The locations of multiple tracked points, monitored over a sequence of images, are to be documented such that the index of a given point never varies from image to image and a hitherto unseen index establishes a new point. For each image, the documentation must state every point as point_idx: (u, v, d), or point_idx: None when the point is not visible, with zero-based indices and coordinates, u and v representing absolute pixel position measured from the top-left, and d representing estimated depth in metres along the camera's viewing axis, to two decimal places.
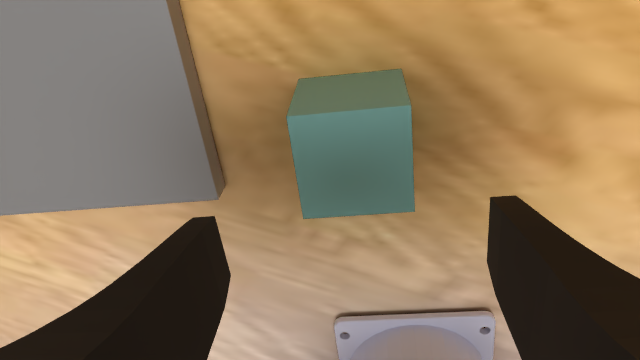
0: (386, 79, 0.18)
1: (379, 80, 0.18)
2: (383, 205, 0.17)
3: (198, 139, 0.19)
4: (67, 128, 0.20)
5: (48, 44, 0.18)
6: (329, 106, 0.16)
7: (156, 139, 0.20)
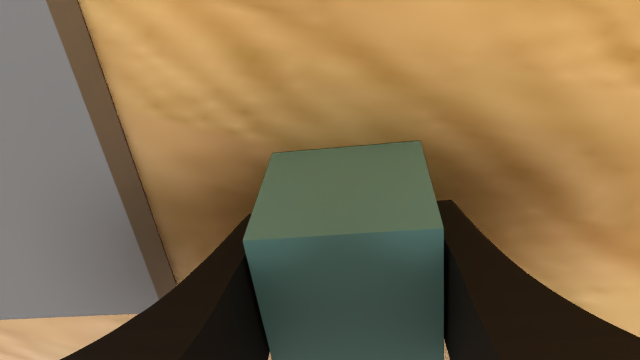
0: (400, 163, 0.12)
1: (389, 165, 0.12)
2: None
3: (130, 237, 0.14)
4: None
5: None
6: (311, 220, 0.10)
7: (70, 237, 0.14)
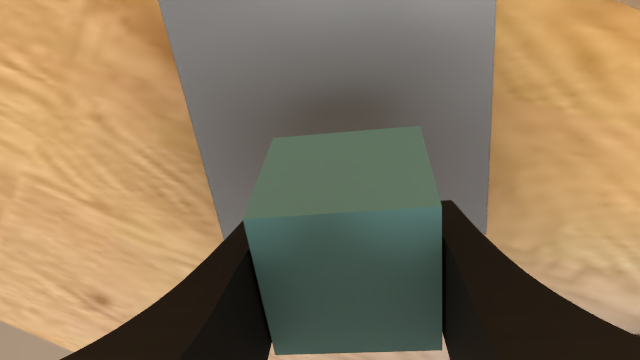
0: (399, 147, 0.12)
1: (389, 148, 0.12)
2: (395, 341, 0.11)
3: (484, 179, 0.20)
4: None
5: (364, 93, 0.19)
6: (311, 199, 0.10)
7: (443, 179, 0.21)
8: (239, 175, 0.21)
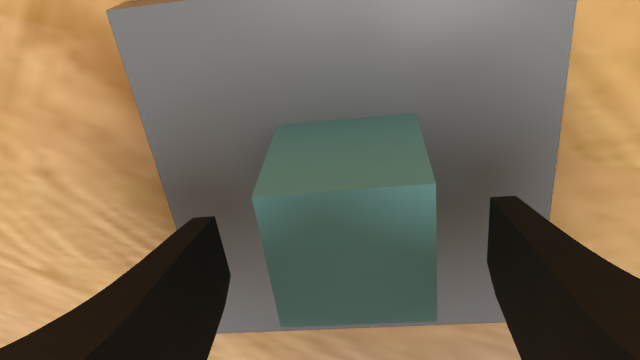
0: (396, 132, 0.13)
1: (387, 133, 0.13)
2: (393, 313, 0.12)
3: None
4: None
5: None
6: (314, 179, 0.11)
7: (485, 257, 0.16)
8: (225, 249, 0.17)
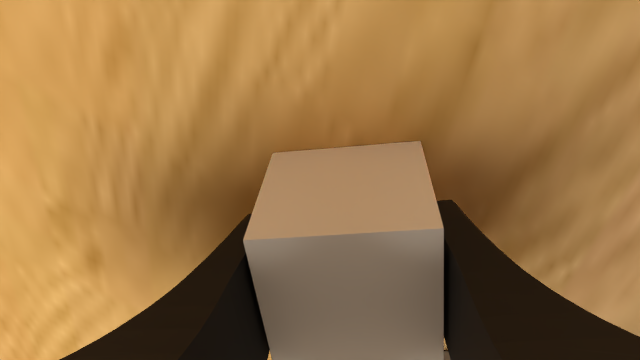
0: None
1: None
2: None
3: None
4: None
5: None
6: None
7: None
8: None
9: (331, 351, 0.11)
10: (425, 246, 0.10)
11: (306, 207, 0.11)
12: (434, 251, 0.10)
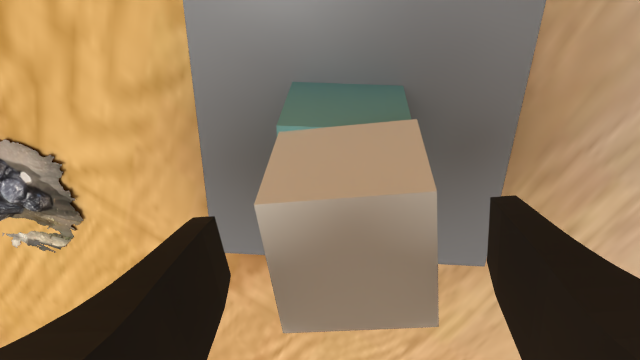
0: None
1: None
2: None
3: None
4: None
5: None
6: None
7: (448, 26, 0.16)
8: None
9: (334, 311, 0.12)
10: (420, 208, 0.11)
11: (311, 176, 0.12)
12: (428, 213, 0.11)
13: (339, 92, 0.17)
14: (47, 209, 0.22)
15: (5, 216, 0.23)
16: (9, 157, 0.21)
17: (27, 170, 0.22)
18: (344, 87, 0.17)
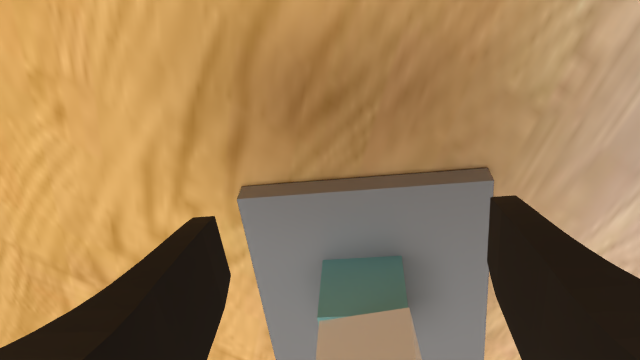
0: None
1: None
2: None
3: (430, 188, 0.22)
4: (412, 276, 0.25)
5: None
6: None
7: (427, 219, 0.23)
8: None
9: None
10: None
11: None
12: None
13: (356, 270, 0.24)
14: None
15: None
16: None
17: None
18: (359, 263, 0.24)
